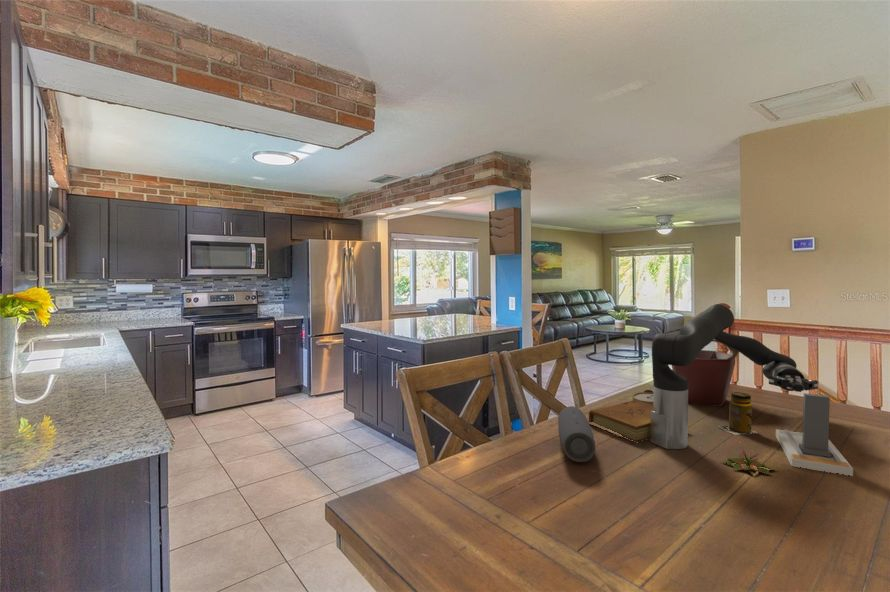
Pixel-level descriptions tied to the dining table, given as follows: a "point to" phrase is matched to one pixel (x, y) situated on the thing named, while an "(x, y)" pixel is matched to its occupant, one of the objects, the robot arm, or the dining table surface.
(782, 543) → the dining table surface
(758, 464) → the succulent plant
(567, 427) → the bluetooth speaker
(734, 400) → the condiment
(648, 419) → the diary
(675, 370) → the bucket
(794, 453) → the switch board
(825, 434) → the switch lever
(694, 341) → the robot arm
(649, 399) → the alarm clock
